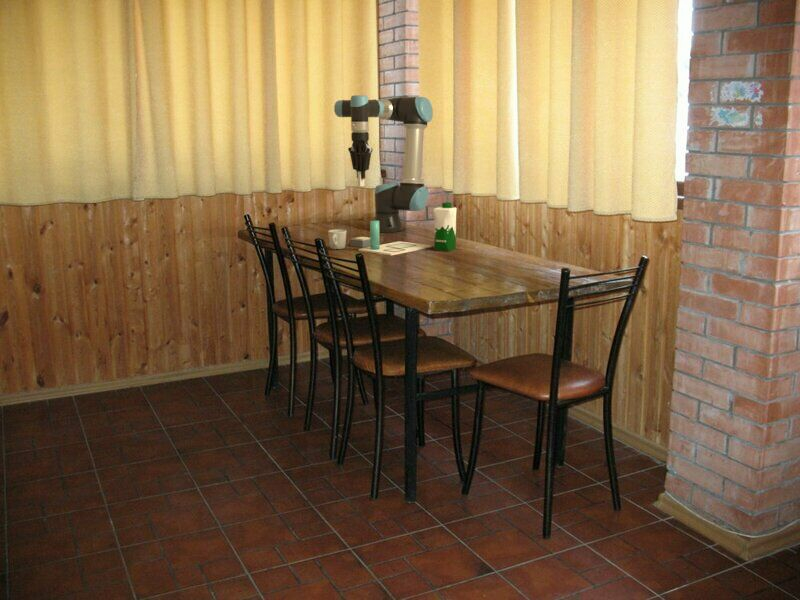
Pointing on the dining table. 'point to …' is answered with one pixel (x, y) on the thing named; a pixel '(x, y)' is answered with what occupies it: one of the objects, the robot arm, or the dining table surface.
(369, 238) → the button
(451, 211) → the milk carton
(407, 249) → the picture board
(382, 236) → the dining table surface
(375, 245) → the teal cylinder
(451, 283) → the dining table surface
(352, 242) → the button housing
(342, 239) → the cup
